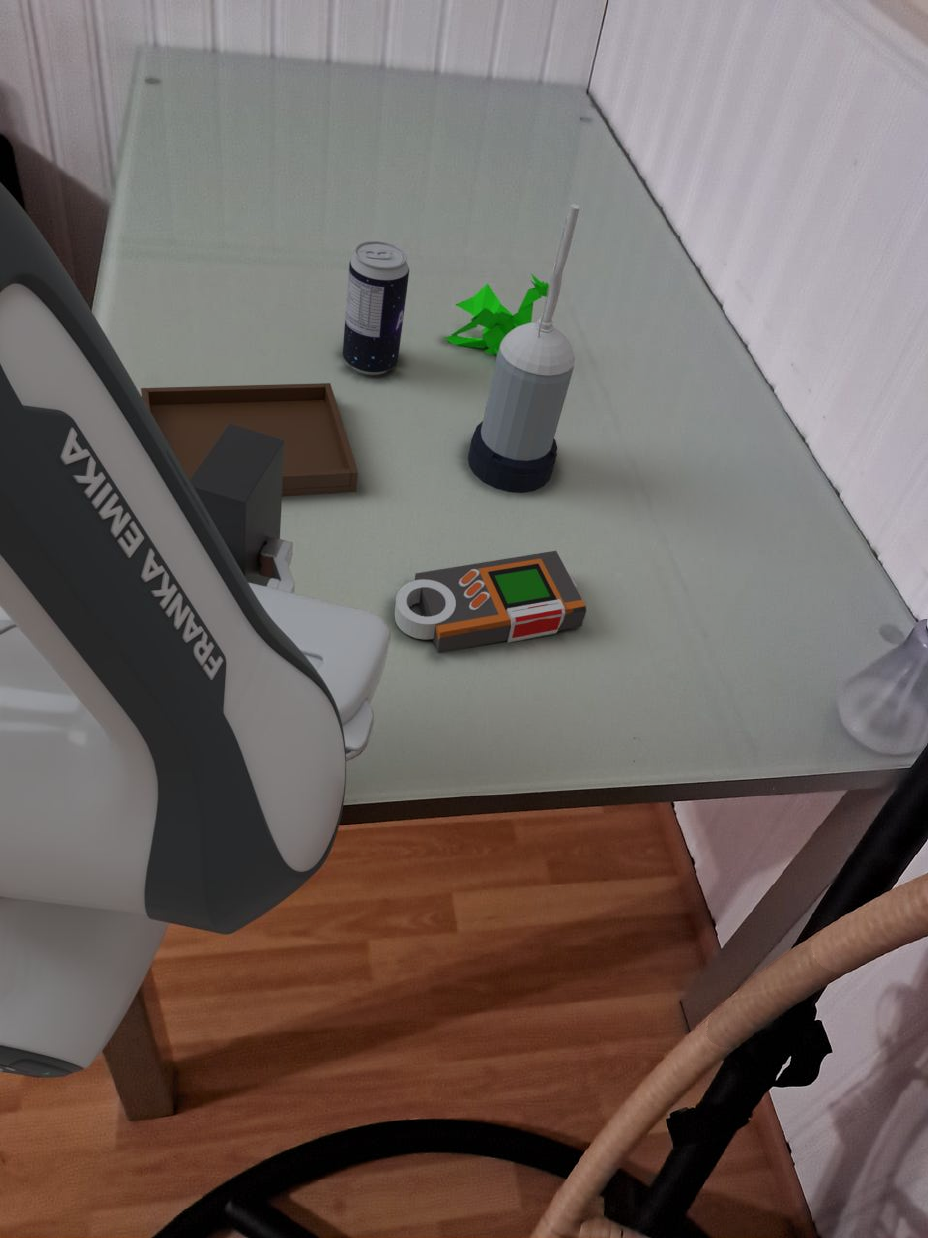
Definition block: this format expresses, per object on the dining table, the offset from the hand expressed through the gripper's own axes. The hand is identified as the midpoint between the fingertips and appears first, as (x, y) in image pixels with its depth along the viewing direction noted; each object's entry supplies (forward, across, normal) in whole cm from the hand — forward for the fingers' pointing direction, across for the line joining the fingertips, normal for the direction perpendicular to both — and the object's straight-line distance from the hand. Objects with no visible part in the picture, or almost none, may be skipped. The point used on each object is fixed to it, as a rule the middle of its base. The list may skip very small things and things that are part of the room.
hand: (241, 537), depth 55 cm
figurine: (+53, -11, +16) cm, 56 cm away
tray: (+27, +8, +16) cm, 33 cm away
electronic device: (+14, -16, +16) cm, 27 cm away
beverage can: (+45, +1, +17) cm, 48 cm away
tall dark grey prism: (-1, 0, +8) cm, 8 cm away
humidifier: (+34, -15, +16) cm, 40 cm away
